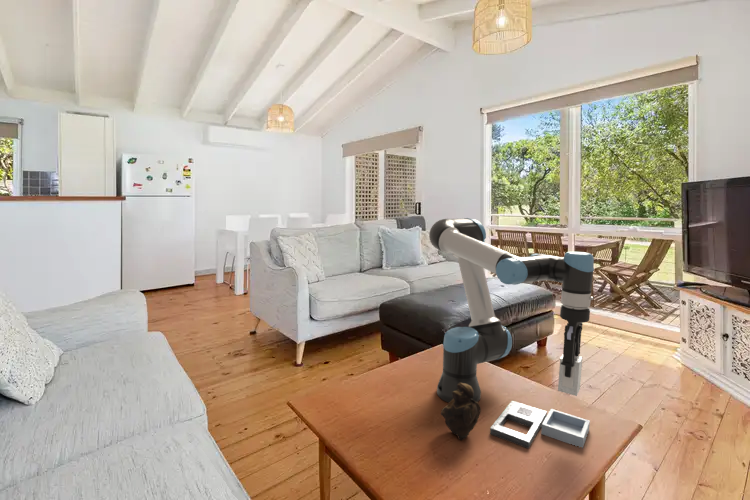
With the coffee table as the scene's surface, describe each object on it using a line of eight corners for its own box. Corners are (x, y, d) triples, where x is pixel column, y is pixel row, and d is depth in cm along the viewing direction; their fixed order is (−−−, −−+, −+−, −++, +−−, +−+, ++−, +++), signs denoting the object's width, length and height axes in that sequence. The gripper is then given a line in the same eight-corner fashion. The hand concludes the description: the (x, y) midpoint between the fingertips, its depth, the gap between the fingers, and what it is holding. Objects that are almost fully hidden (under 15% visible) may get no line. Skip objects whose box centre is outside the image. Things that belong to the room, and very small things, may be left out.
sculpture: (428, 420, 115) (450, 374, 116) (454, 431, 119) (475, 386, 120) (448, 440, 105) (472, 389, 106) (476, 450, 109) (498, 401, 111)
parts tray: (541, 433, 115) (541, 424, 114) (550, 417, 123) (550, 408, 123) (582, 448, 108) (583, 438, 108) (589, 430, 117) (589, 420, 116)
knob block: (557, 390, 113) (560, 356, 112) (561, 384, 117) (564, 351, 116) (576, 396, 110) (579, 360, 109) (579, 389, 114) (582, 355, 113)
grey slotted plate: (490, 434, 114) (490, 427, 114) (511, 406, 130) (512, 400, 130) (528, 448, 108) (528, 441, 107) (546, 417, 124) (546, 411, 123)
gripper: (584, 315, 101) (577, 399, 104) (595, 301, 116) (588, 375, 119) (553, 310, 106) (548, 390, 109) (567, 297, 120) (562, 369, 123)
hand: (569, 382), depth 114 cm, fingers closed on knob block, 5 cm apart
